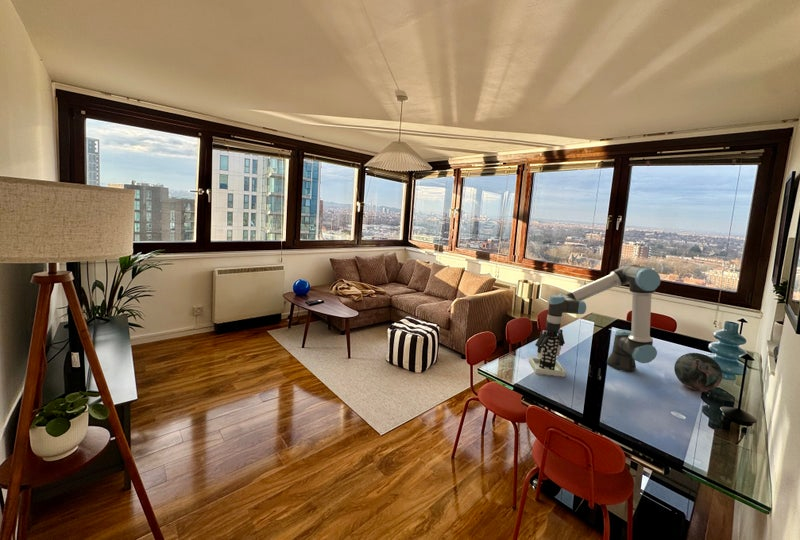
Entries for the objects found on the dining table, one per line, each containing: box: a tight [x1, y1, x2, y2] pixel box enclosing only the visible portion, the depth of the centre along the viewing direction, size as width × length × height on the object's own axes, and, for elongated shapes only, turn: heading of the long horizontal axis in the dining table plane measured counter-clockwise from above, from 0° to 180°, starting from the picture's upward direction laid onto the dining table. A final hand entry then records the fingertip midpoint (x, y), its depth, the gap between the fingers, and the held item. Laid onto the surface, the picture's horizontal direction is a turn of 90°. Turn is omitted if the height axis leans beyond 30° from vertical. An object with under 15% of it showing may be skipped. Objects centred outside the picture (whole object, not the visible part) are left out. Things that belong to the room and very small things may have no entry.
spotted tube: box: [539, 335, 560, 370], centre depth 202 cm, size 8×8×20 cm
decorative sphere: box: [673, 352, 723, 392], centre depth 191 cm, size 20×20×20 cm
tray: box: [528, 356, 567, 378], centre depth 203 cm, size 16×16×3 cm
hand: (548, 356), depth 202 cm, fingers open, 13 cm apart
